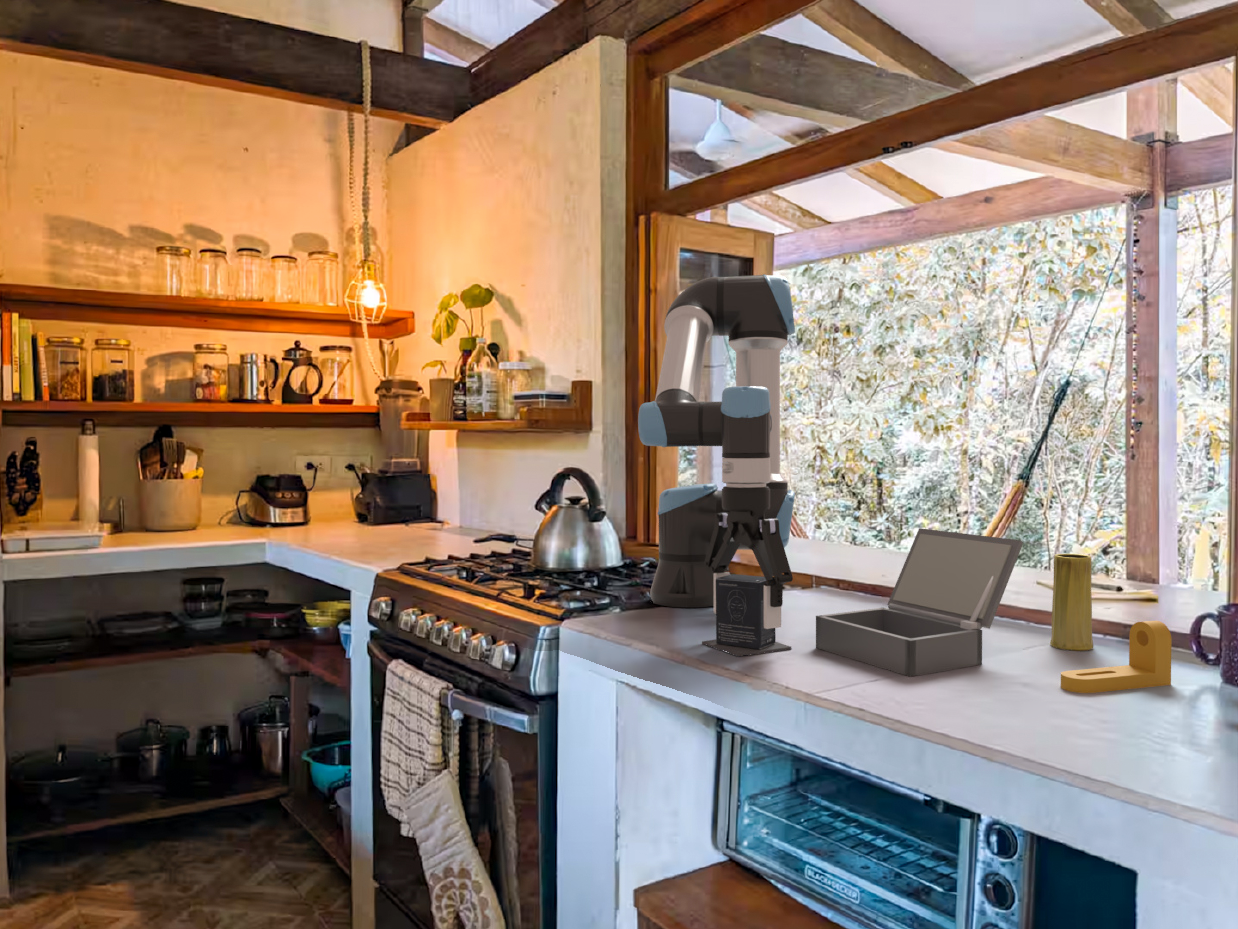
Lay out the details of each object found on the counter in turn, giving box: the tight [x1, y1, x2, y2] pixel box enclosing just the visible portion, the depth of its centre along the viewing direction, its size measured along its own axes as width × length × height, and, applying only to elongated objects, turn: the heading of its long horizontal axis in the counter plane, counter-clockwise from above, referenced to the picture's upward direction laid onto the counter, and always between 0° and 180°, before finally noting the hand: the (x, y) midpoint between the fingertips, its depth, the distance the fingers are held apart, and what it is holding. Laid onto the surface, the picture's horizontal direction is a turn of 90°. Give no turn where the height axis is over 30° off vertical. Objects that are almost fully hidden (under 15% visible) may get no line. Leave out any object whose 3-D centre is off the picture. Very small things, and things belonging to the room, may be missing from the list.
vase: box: [1049, 553, 1094, 652], centre depth 147 cm, size 6×6×14 cm
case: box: [815, 527, 1024, 677], centre depth 144 cm, size 20×22×18 cm
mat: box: [701, 639, 792, 657], centre depth 149 cm, size 10×10×1 cm
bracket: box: [1060, 620, 1173, 694], centre depth 125 cm, size 15×4×8 cm, turn 106°
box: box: [715, 573, 776, 649], centre depth 149 cm, size 8×6×11 cm
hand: (746, 620), depth 149 cm, fingers open, 13 cm apart
